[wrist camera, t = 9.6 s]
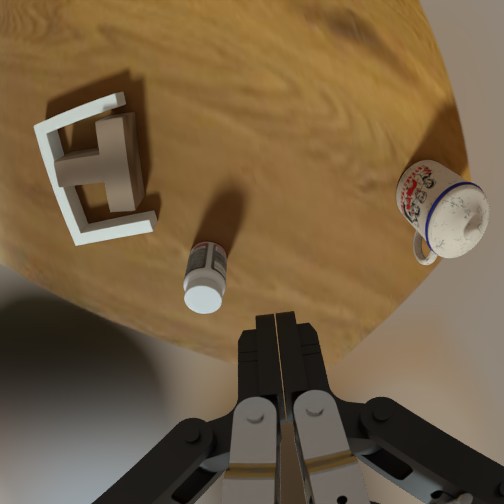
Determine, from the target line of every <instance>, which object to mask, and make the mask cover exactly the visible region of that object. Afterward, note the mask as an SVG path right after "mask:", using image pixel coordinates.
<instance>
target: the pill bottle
mask: <svg viewBox="0 0 504 504" xmlns="http://www.w3.org/2000/svg"><path fill="white" fill-rule="evenodd" d="M226 265H227V256H226V253H225V251H224V249H223V248H222V247H221V246H219V245H218V244H216V243H213V242H202V243H199V244H197V245H195V246H194V247H193V249H192V250H191V252H190V255H189V260H188V264H187V269H186V274H185V278H184V290H185V296H184V299H185V303H186V305H187V306H188V307H189V308H190V309H191V310H193V311H195V312H197V313H202V314H207V313H212V312H214V311H216V310H217V309H218V308H219V307H220V306H221V303H222V297H223V294H224V292H225V288H226Z"/></svg>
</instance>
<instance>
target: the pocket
mask: <svg viewBox="0 0 504 504" xmlns="http://www.w3.org/2000/svg"><path fill="white" fill-rule="evenodd" d="M125 104H126V101H125V97H124V92H119V93H115V94H112V95H109V96H106V97H103V98H100V99H97V100H95V101H92V102H89V103H86V104H84V105H81V106H79V107H76V108H74V109H71V110H69V111H66V112H64V113H61V114H59V115H57V116H54V117H52V118H50V119H48V120H45V121H43V122H41V123H39V124H37V125H35V126H34V129H35V133H36V136H37V140H38V143H39V147H40V150H41V154H42V157H43V160H44V163H45V166H46V169H47V172H48V175H49V178H50V181H51V184H52V187H53V190H54V192H55V195H56V198H57V201H58V203H59V206H60V208H61V211H62V214H63V216H64V219H65V221H66V224H67V226H68V228H69V231H70V233H71V236H72V238H73V240H74V243H75V245H76V246H77V245H82V244H87V243H93V242H98V241H103V240H108V239H114V238H119V237H125V236H130V235H136V234H141V233H147V232H153V230H154V228H155V226H156V224H157V222H158V221H157V217H156V214H155V211H154V210H153V211H148V212H143V213H138V214H133V215H128V216H123V217H118V218H113V219H109V220H104V221H99V222H95V223H90V224H88V222H87V219H86V216H85V214H84V211H83V208H82V206H81V203H80V200H79V197H78V195H77V192H76V189H75V186H67V187H60V188H59V186H58V182H57V177H56V172H55V168H54V162H55V161H56V160H58V159H59V158H61V157H63V156H64V152H63V148H62V145H61V141H60V138H59V134H58V131H57V129H59V128H61V127H64V126H66V125H69V124H71V123H74V122H76V121H79V120H82V119H84V118H87V117H90V116H93V115H96V114H98V113H101V112H104V111H107V110H110V109H113V108H117V107H120V106H122V105H125Z"/></svg>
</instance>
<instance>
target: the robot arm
mask: <svg viewBox="0 0 504 504" xmlns="http://www.w3.org/2000/svg"><path fill="white" fill-rule="evenodd" d="M276 323H277V333H278V342H279V351H280V360H281V369H282V377H283V386H284V395H285V404H286V413H287V422H293V426H294V435H295V444H296V449H297V454H298V459H299V464H300V469H301V474H302V478H303V484H304V492H305V497H306V503H307V504H379V503H376V502H372V501H370V500H369V497H368V494H367V490H366V487H365V483H364V479H363V476H362V473H361V469H360V466H359V463H358V460H357V458H358V459H359V460H361V461H362V462H364V463H365V464H367V465H368V466H369V467H371V468H372V469H374V470H375V471H376V472H378V473H379V474H381V475H382V476H384V477H385V478H387V479H388V480H390V481H391V482H393V483H394V484H396V485H397V486H399V487H400V488H402V489H403V490H405V491H406V492H408V493H410V494H411V495H413V496H414V497H416V498H417V499H419V500H421V501H422V502H424V503H426V504H504V466H502V465H500V464H498V463H497V462H495V461H493V460H491V459H490V458H488V457H486V456H484V455H483V454H481V453H479V452H477V451H476V450H474V449H472V448H470V447H469V446H467V445H465V444H463V443H462V442H460V441H458V440H457V439H455V438H453V437H452V436H450V435H448V434H447V433H445V432H443V431H442V430H440V429H438V428H437V427H435V426H434V425H432V424H430V423H429V422H427V421H425V420H424V419H422V418H421V417H419V416H417V415H416V414H414V413H412V412H411V411H409V410H408V409H406V408H405V407H403V406H401V405H400V404H398V403H397V402H395V401H394V400H392V399H390V398H387V397H376V398H373V399H371V400H369V401H368V402H367V403H365V404H363V403H353V402H346V401H343V400H341V399H339V398H337V397H336V396H335V395H334V394H333V393H332V392H331V390H330V387H329V384H328V379H327V375H326V370H325V366H324V361H323V357H322V354H321V348H320V345H319V340H318V335H317V332H316V330H315V329H314V328H313V327H312V326H311V325H310V323H303V324H296V318H295V313H294V311H291V312H283V313H276ZM280 423H286V421H285V411H284V399H283V390H282V380H281V371H280V362H279V353H278V344H277V336H276V327H275V318H274V314H267V315H258V316H256V329H253V330H244V331H243V332H242V334H241V336H240V338H239V340H238V401H237V404H236V406H235V407H234V409H233V410H232V411H231V412H230V413H229V414H227V415H226V416H223V417H221V418H218V419H215V420H212V421H209V422H205V421H204V420H201V419H198V418H189V419H185V420H183V421H181V422H179V424H177V425H176V426H175V427H174V428H173V429H172V430H171V431H170V432H169V433H168V434H167V435H166V436H165V437H164V438H163V439H162V440H161V441H160V442H159V443H158V444H157V445H156V446H155V447H154V448H152V450H150V451H149V452H148V453H147V454H146V455H145V456H144V457H143V458H142V459H141V460H140V461H139V462H138V463H137V464H136V465H134V466H133V467H132V468H131V469H130V470H129V471H128V472H127V473H126V474H125V475H124V476H122V477H121V478H120V479H119V480H118V481H117V482H116V483H115V484H114V485H113V486H111V487H110V488H109V489H108V490H107V491H106V492H104V493H103V494H102V495H101V496H100V497H99V498H98V499H97V500H95V501H94V502H93V503H92V504H194V503H195V502H196V501H197V500H198V499H199V498H200V497H201V496H202V494H204V493H205V491H206V490H207V489H208V488H209V487H210V486H211V485H212V484H213V483H214V482H215V481H216V480H217V479H218V478H219V477H220V476H221V474H222V473H223V472H224V471H225V470H226V471H225V474H224V479H223V489H222V500H221V504H281V489H280V462H281V461H280V460H281V457H280V456H281V453H280V452H281V451H280V450H281V445H280V444H281V439H282V435H281V425H280ZM356 457H357V458H356ZM227 468H228V469H227Z"/></svg>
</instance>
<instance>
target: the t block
mask: <svg viewBox="0 0 504 504" xmlns="http://www.w3.org/2000/svg"><path fill="white" fill-rule="evenodd" d="M95 125H96V133H97V140H98V147H97V148H90V149H84V150H78V151H73V152H69V153H67V154H66V155H64V156H63V157H61V158H59V159H58V160H56V161H55V162H54V168H55V172H56V177H57V182H58V186H59V188H60V187H67V186H75V185H83V184H91V183H100V182H104V183H105V188H106V194H107V199H108V204H109V208H110V212H121V211H135V210H136V209H137V207H138V206H139V204H140V203H141V201H142V200H143V198H144V197H145V192H144V185H143V178H142V170H141V163H140V155H139V146H138V137H137V128H136V117H135V112H129V113H122V114H116V115H110V116H107V117H105V118H103V119H100V120H98V121H96V122H95Z"/></svg>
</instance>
